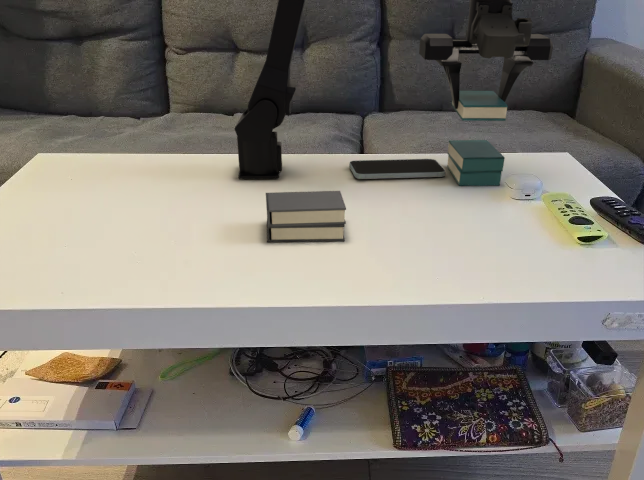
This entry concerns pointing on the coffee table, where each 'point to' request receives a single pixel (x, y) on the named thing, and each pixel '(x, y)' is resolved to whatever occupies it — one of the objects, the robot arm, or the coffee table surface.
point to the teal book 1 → (480, 106)
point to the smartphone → (396, 168)
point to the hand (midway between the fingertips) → (477, 108)
